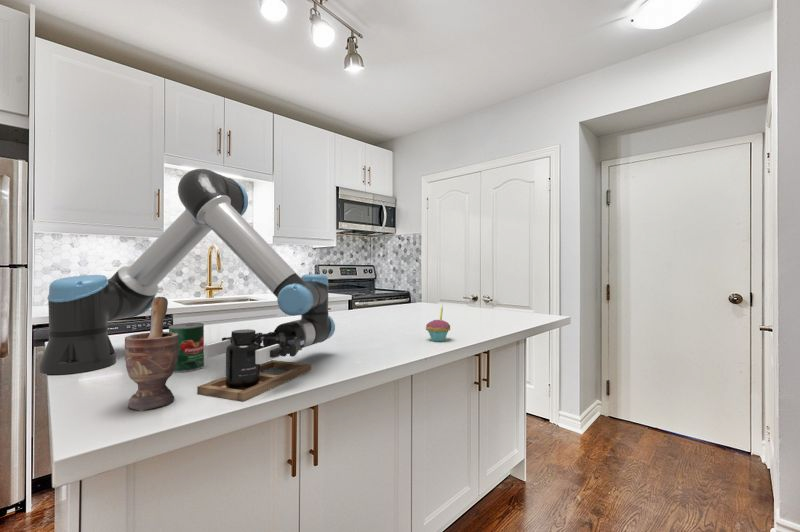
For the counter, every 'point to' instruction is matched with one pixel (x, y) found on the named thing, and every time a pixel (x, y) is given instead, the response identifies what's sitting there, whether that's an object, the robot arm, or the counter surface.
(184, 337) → the canned tomato
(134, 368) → the mortar and pestle
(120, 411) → the counter surface
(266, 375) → the divided wooden tray
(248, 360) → the supplement bottle
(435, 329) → the cupcake
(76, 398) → the counter surface
